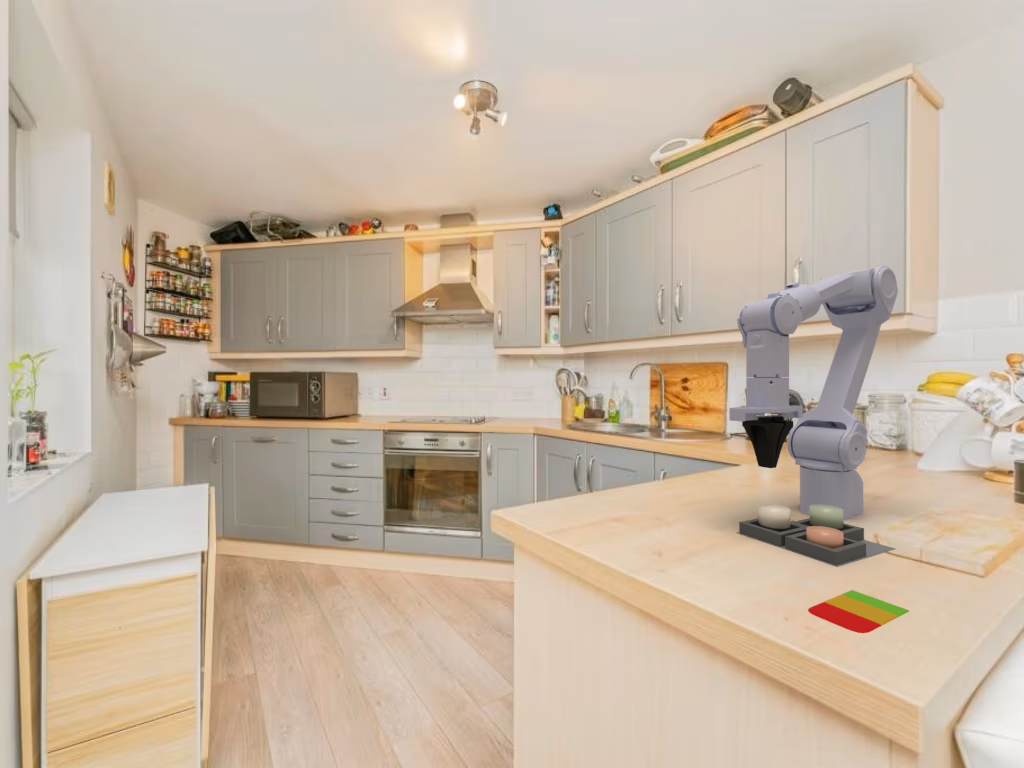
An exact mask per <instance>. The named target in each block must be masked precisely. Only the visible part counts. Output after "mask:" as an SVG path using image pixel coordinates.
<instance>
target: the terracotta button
mask: <svg viewBox="0 0 1024 768" xmlns="http://www.w3.org/2000/svg"><path fill="white" fill-rule="evenodd" d="M806 536H807V541H809V542H812V543H815V544H819V545H822V546H825V547H828V548H832V549H834V548H838V547H842V546H844V544H843V532H842V531H840V530H837V529H834V528H830V527H823V526H809V527H807V528H806Z"/></svg>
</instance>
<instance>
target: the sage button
mask: <svg viewBox="0 0 1024 768" xmlns="http://www.w3.org/2000/svg"><path fill="white" fill-rule="evenodd" d="M809 508H810V516H809V518H810V524H812V525H814V526H823V527H830V528H834V529H842V528H843V523H844V520H843V509H842V508H839V507H836V506H831V505H824V504H813V505H810V506H809Z"/></svg>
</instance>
